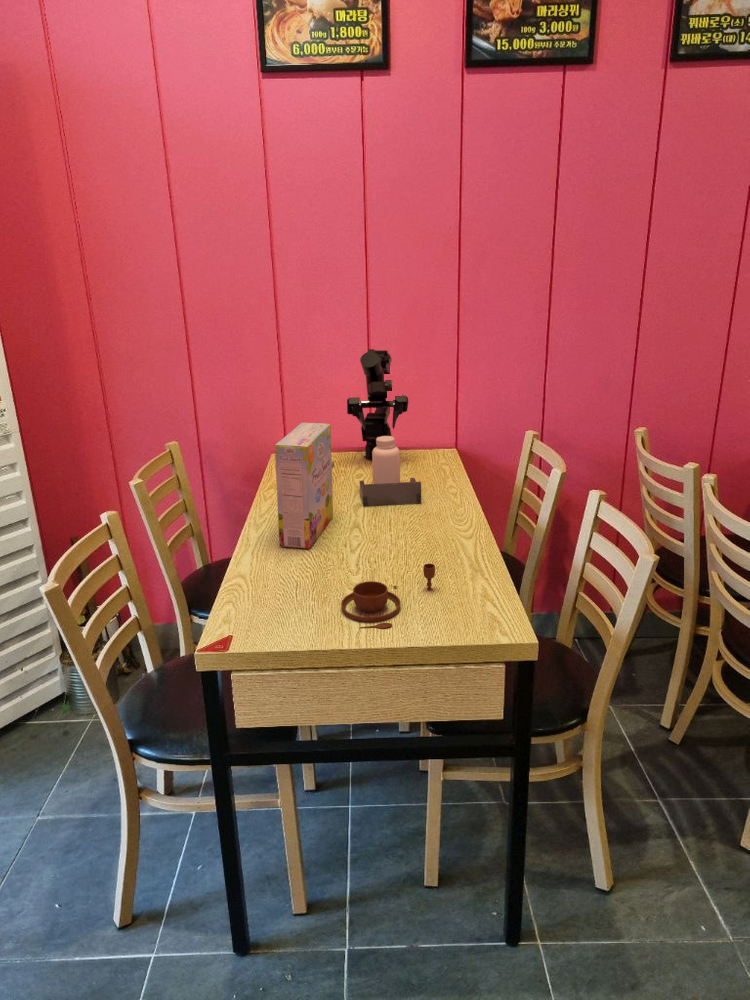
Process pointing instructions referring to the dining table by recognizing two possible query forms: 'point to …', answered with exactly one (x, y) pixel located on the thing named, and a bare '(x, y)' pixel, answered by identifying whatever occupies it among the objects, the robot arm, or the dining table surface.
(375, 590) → the place setting
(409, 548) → the dining table surface
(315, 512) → the snack box
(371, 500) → the dark wooden frame
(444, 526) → the dining table surface
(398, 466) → the pill bottle
